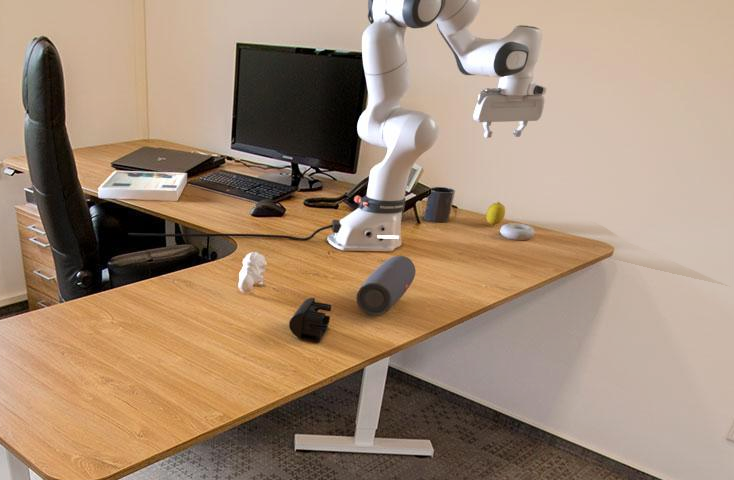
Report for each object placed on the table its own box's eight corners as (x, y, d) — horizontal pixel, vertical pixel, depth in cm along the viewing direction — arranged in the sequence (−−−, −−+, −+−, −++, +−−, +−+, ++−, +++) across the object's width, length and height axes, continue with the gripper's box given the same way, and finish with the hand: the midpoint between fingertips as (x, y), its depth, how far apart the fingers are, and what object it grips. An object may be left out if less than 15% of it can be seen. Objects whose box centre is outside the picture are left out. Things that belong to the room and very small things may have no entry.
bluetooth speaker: (389, 324, 161) (397, 284, 156) (351, 316, 166) (357, 277, 160) (414, 293, 178) (421, 256, 173) (378, 287, 182) (384, 250, 177)
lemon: (500, 224, 231) (506, 200, 227) (502, 229, 226) (508, 204, 222) (482, 223, 232) (488, 199, 228) (484, 227, 228) (490, 203, 224)
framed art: (187, 172, 283) (177, 190, 257) (186, 182, 285) (177, 201, 259) (115, 170, 287) (98, 188, 261) (115, 179, 289) (98, 198, 263)
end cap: (299, 322, 163) (302, 295, 159) (328, 327, 160) (332, 300, 157) (287, 338, 155) (290, 310, 152) (318, 344, 153) (321, 316, 149)
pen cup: (430, 223, 233) (436, 193, 227) (419, 216, 239) (425, 187, 234) (452, 222, 233) (459, 192, 228) (441, 215, 240) (447, 186, 235)
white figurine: (268, 251, 181) (256, 269, 172) (266, 280, 186) (255, 300, 177) (245, 248, 183) (232, 266, 174) (244, 277, 188) (231, 296, 179)
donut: (538, 242, 214) (526, 232, 223) (541, 231, 213) (529, 221, 221) (504, 241, 215) (494, 231, 224) (507, 230, 213) (497, 221, 222)
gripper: (486, 89, 200) (475, 139, 207) (552, 88, 202) (538, 137, 209) (475, 87, 205) (464, 135, 212) (539, 85, 207) (526, 134, 214)
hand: (501, 136), depth 210 cm, fingers open, 8 cm apart
